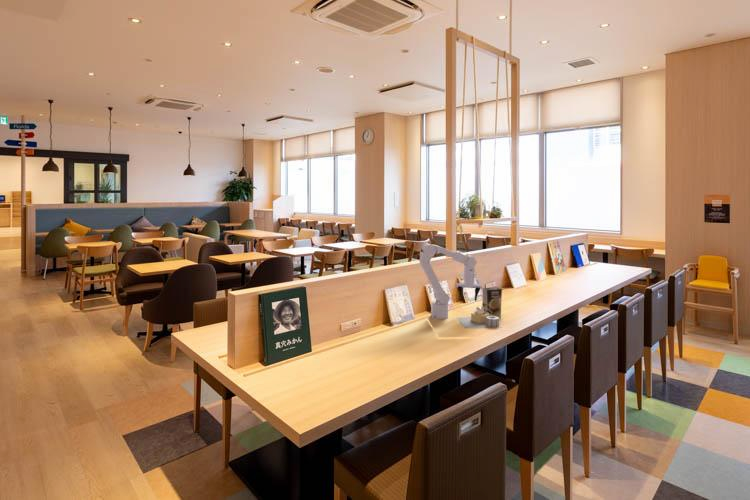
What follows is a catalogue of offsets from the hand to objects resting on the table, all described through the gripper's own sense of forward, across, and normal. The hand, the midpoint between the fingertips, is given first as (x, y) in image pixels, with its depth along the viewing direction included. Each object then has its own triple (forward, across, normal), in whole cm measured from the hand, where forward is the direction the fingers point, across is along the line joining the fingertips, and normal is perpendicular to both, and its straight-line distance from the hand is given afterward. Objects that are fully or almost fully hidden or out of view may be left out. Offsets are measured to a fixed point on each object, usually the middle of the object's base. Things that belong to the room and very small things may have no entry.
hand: (468, 300), depth 259 cm
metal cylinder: (+9, +8, -8) cm, 14 cm away
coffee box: (+10, +12, +7) cm, 17 cm away
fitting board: (+10, +7, -12) cm, 17 cm away
